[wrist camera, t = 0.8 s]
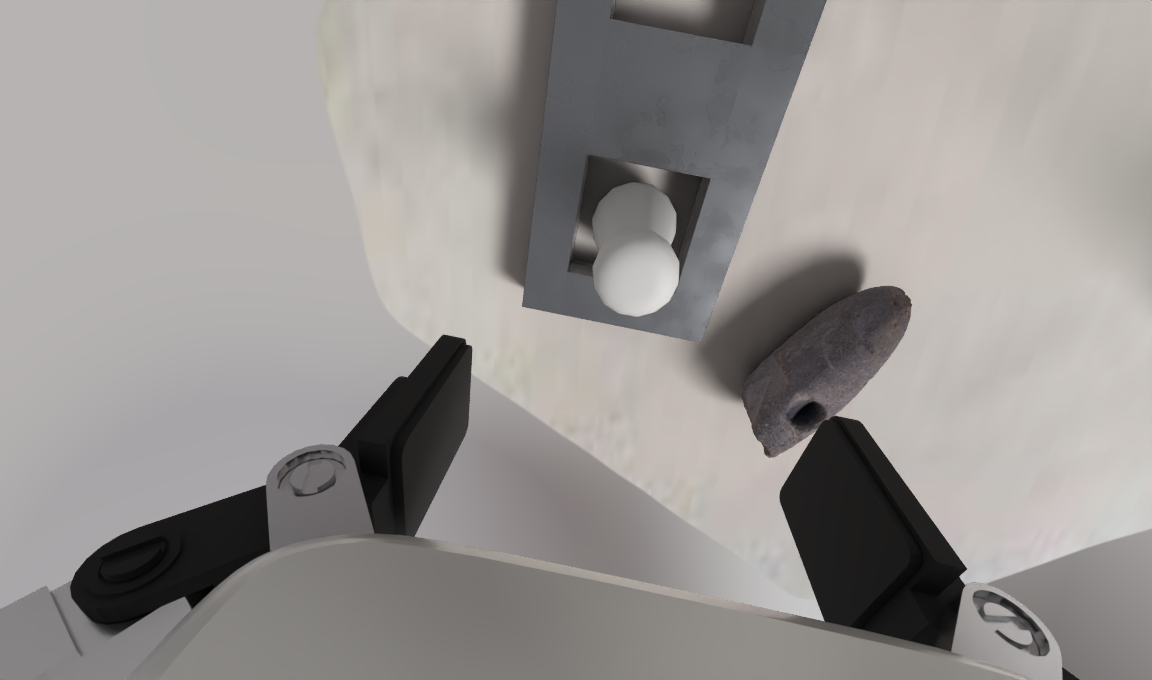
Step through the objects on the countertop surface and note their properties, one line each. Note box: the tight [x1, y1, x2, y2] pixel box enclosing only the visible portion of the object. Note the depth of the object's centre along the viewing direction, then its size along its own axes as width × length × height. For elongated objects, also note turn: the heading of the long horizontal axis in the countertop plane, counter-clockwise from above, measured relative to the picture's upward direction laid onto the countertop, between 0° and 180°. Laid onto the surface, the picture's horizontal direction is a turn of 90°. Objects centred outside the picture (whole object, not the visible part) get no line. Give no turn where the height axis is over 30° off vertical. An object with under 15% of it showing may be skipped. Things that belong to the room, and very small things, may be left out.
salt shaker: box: [592, 182, 679, 317], centre depth 26 cm, size 6×6×13 cm
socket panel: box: [522, 0, 827, 343], centre depth 26 cm, size 14×30×3 cm, turn 170°
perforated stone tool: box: [742, 286, 912, 458], centre depth 32 cm, size 15×5×7 cm, turn 146°
